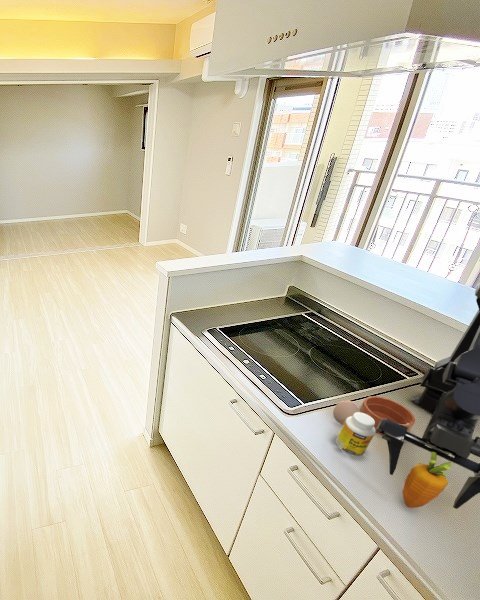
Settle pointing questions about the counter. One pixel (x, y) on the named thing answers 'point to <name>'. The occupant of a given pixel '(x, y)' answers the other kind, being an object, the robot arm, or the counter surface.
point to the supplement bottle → (356, 434)
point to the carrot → (425, 482)
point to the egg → (344, 411)
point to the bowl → (387, 411)
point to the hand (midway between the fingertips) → (421, 490)
